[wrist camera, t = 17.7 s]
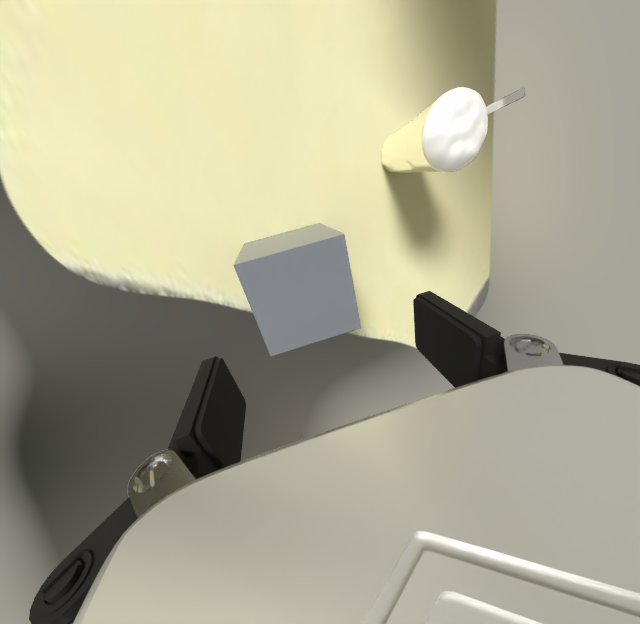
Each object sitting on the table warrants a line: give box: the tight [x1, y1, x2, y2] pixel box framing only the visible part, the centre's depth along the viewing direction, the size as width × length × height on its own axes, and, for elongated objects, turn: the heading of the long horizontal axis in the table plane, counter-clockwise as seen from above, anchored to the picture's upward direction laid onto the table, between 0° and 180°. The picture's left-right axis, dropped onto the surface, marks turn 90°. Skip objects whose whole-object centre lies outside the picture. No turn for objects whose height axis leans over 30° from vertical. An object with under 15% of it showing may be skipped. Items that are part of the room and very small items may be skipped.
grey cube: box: [234, 223, 361, 356], centre depth 22 cm, size 8×8×9 cm
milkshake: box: [381, 87, 525, 173], centre depth 18 cm, size 4×5×10 cm
